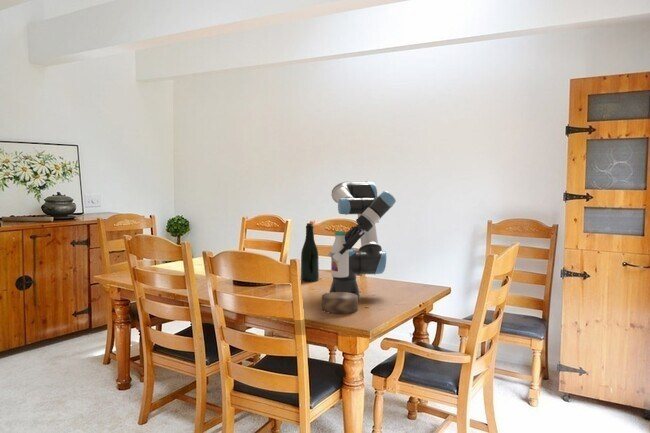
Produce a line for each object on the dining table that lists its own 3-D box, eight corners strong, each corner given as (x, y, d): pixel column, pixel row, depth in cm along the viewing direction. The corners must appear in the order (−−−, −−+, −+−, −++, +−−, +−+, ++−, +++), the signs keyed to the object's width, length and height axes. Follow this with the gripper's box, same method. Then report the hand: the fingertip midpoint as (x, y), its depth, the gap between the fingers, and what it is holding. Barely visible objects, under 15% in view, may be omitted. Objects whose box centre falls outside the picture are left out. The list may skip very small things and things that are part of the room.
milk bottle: (348, 274, 224) (347, 230, 223) (349, 277, 217) (349, 232, 215) (330, 274, 224) (330, 230, 223) (331, 278, 216) (331, 232, 215)
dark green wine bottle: (299, 278, 291) (299, 222, 288) (317, 278, 293) (317, 222, 290) (301, 282, 280) (301, 224, 278) (320, 281, 282) (320, 223, 280)
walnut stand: (319, 313, 215) (319, 299, 214) (324, 304, 231) (324, 291, 230) (356, 314, 213) (356, 300, 213) (358, 305, 229) (358, 292, 228)
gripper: (380, 228, 212) (344, 267, 210) (366, 224, 232) (332, 259, 230) (368, 215, 211) (332, 255, 208) (355, 212, 231) (321, 248, 228)
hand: (332, 257), depth 219 cm, fingers closed on milk bottle, 7 cm apart
